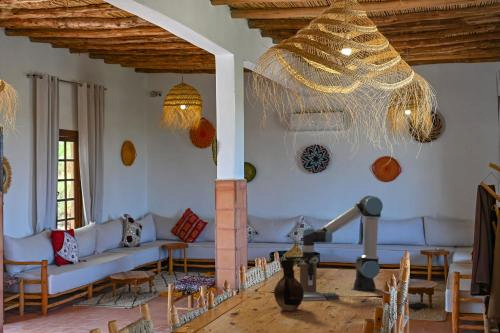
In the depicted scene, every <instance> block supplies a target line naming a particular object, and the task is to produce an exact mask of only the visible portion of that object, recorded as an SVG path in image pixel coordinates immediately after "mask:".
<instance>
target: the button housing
mask: <svg viewBox="0 0 500 333" xmlns="http://www.w3.org/2000/svg"><path fill="white" fill-rule="evenodd" d="M328 293H329V292H325V293H324V292H323V293H322V295H324V296H325V298H326V300H339V298H340V295H339V294H338V293H336V292H333V293H334V295H328Z"/></svg>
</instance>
